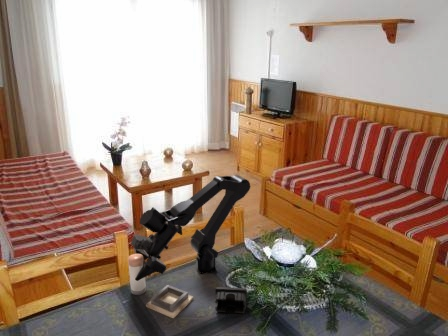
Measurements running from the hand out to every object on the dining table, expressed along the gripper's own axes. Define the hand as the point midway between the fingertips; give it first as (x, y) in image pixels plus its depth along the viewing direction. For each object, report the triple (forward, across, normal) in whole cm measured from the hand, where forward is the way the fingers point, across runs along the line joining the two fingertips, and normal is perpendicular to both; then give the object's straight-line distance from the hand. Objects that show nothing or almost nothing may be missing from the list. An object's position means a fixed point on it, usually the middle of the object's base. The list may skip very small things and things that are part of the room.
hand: (133, 275), depth 127 cm
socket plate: (-1, +12, +10) cm, 16 cm away
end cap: (-12, +24, +22) cm, 35 cm away
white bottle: (+4, 0, +6) cm, 7 cm away
